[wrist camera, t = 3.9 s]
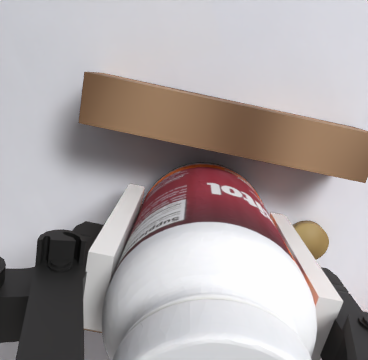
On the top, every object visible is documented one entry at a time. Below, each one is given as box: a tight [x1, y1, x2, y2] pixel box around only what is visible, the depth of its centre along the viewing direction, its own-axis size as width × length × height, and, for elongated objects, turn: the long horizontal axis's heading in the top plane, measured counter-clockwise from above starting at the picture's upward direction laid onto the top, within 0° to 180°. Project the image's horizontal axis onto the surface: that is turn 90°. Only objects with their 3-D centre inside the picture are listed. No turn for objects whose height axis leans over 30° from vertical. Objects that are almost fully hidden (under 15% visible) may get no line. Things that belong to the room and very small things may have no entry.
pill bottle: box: [102, 163, 317, 360], centre depth 12 cm, size 6×6×11 cm
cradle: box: [79, 72, 368, 333], centre depth 16 cm, size 12×12×2 cm
